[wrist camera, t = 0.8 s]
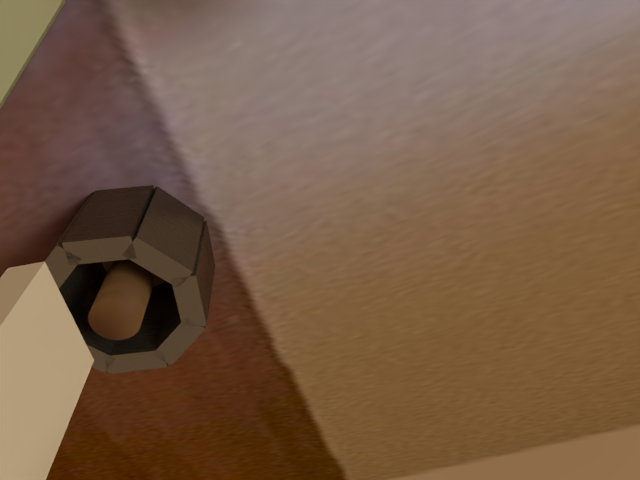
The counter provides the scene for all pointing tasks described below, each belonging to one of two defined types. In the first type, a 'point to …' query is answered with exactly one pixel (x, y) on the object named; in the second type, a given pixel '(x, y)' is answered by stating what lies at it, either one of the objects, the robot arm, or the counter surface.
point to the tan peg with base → (122, 299)
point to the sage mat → (22, 36)
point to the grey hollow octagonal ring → (150, 253)
